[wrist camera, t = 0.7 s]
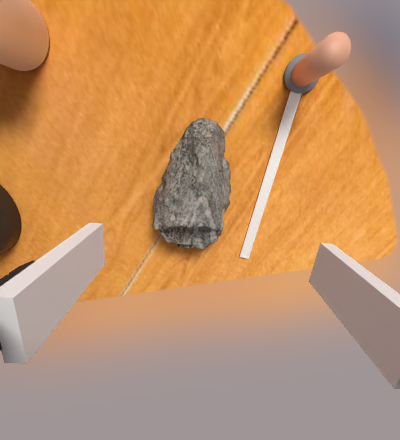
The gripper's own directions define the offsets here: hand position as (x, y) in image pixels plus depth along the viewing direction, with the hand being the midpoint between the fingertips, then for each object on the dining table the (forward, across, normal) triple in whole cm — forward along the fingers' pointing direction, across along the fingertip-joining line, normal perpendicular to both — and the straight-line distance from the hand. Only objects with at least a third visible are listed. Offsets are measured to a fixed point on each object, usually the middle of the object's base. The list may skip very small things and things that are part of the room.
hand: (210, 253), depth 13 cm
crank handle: (+22, +10, +3) cm, 24 cm away
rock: (+22, -2, 0) cm, 22 cm away
